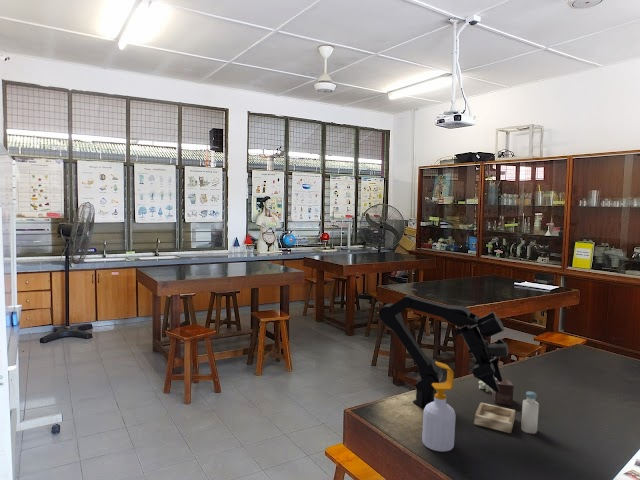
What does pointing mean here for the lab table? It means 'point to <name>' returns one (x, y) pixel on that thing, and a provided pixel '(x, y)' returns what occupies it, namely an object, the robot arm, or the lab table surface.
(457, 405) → the lab table surface
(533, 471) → the lab table surface
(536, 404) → the reagent bottle
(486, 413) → the oak tray
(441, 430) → the soap bottle
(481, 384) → the vertebra
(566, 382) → the lab table surface
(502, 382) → the box
